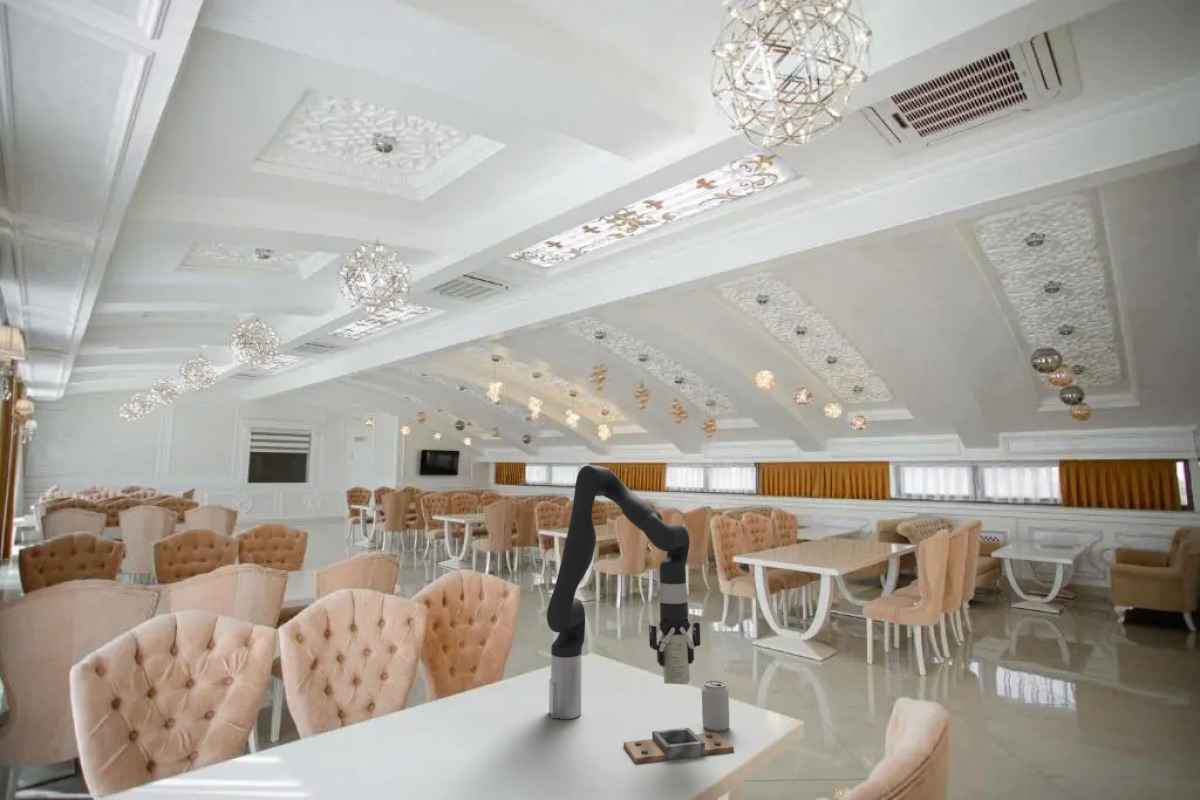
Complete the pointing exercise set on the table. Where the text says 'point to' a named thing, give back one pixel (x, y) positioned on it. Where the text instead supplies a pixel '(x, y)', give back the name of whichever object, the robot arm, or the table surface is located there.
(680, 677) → the skincare box
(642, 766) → the table surface
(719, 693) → the can
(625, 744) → the mounting bracket
